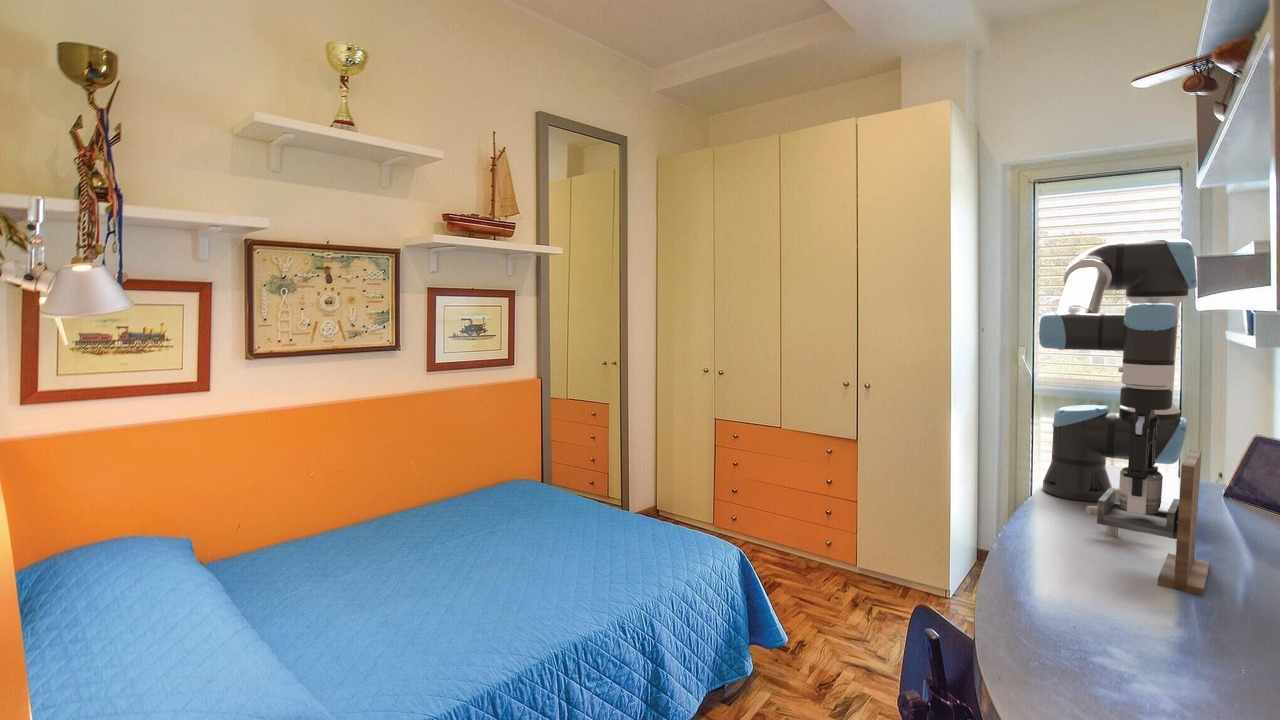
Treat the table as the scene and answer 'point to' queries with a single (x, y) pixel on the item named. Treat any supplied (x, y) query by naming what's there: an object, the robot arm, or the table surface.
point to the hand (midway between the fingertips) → (1139, 507)
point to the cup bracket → (1168, 529)
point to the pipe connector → (1094, 511)
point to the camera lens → (1152, 490)
